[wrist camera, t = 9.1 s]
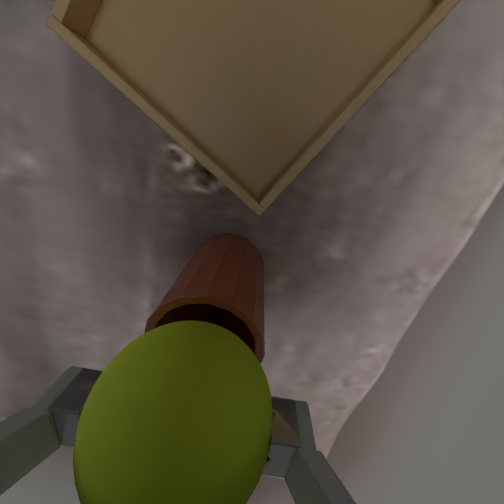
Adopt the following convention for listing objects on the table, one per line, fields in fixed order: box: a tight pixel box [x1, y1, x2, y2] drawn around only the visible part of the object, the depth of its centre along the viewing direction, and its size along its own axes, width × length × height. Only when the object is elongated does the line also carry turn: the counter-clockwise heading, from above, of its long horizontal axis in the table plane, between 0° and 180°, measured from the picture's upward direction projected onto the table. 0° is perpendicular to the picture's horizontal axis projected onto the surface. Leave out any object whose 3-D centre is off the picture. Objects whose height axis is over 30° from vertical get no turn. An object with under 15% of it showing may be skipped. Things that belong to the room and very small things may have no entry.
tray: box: [47, 0, 460, 216], centre depth 13 cm, size 15×15×2 cm
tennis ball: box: [73, 321, 273, 504], centre depth 8 cm, size 6×6×6 cm
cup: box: [145, 234, 265, 364], centre depth 16 cm, size 6×6×9 cm
